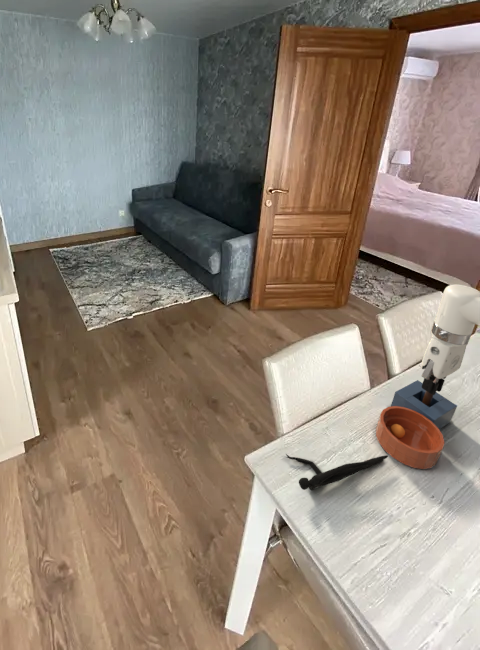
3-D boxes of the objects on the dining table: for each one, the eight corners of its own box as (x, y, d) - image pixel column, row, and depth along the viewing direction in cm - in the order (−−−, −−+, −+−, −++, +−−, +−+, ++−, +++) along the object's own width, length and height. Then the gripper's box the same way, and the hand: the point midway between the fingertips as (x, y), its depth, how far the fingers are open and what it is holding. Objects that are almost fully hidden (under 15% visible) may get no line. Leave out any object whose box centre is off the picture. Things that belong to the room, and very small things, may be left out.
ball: (405, 437, 89) (409, 429, 88) (398, 442, 88) (401, 433, 87) (394, 428, 92) (397, 419, 91) (386, 432, 90) (389, 424, 89)
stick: (429, 411, 95) (442, 374, 90) (425, 413, 94) (438, 376, 90) (422, 406, 97) (434, 370, 92) (418, 409, 96) (430, 372, 91)
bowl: (448, 456, 85) (456, 439, 83) (415, 480, 80) (422, 462, 77) (396, 415, 96) (401, 399, 94) (363, 434, 91) (368, 417, 88)
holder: (450, 422, 94) (457, 405, 92) (428, 436, 90) (434, 420, 88) (412, 395, 103) (417, 379, 101) (390, 407, 99) (395, 391, 96)
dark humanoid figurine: (371, 420, 87) (287, 443, 79) (397, 457, 80) (308, 486, 72) (356, 434, 91) (275, 457, 84) (379, 470, 85) (294, 499, 77)
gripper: (449, 350, 80) (428, 410, 86) (485, 332, 86) (462, 389, 93) (415, 333, 86) (398, 390, 93) (451, 317, 92) (433, 371, 99)
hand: (430, 389), depth 93 cm, fingers closed on stick, 1 cm apart
